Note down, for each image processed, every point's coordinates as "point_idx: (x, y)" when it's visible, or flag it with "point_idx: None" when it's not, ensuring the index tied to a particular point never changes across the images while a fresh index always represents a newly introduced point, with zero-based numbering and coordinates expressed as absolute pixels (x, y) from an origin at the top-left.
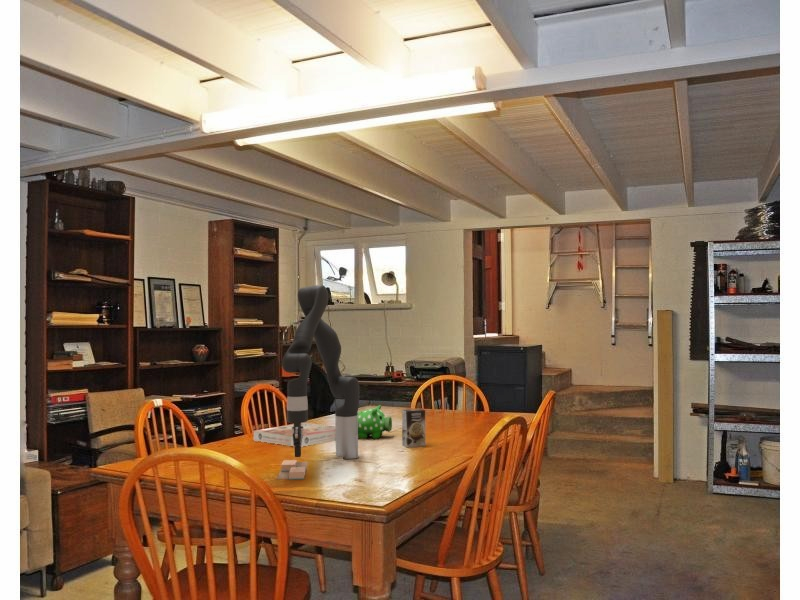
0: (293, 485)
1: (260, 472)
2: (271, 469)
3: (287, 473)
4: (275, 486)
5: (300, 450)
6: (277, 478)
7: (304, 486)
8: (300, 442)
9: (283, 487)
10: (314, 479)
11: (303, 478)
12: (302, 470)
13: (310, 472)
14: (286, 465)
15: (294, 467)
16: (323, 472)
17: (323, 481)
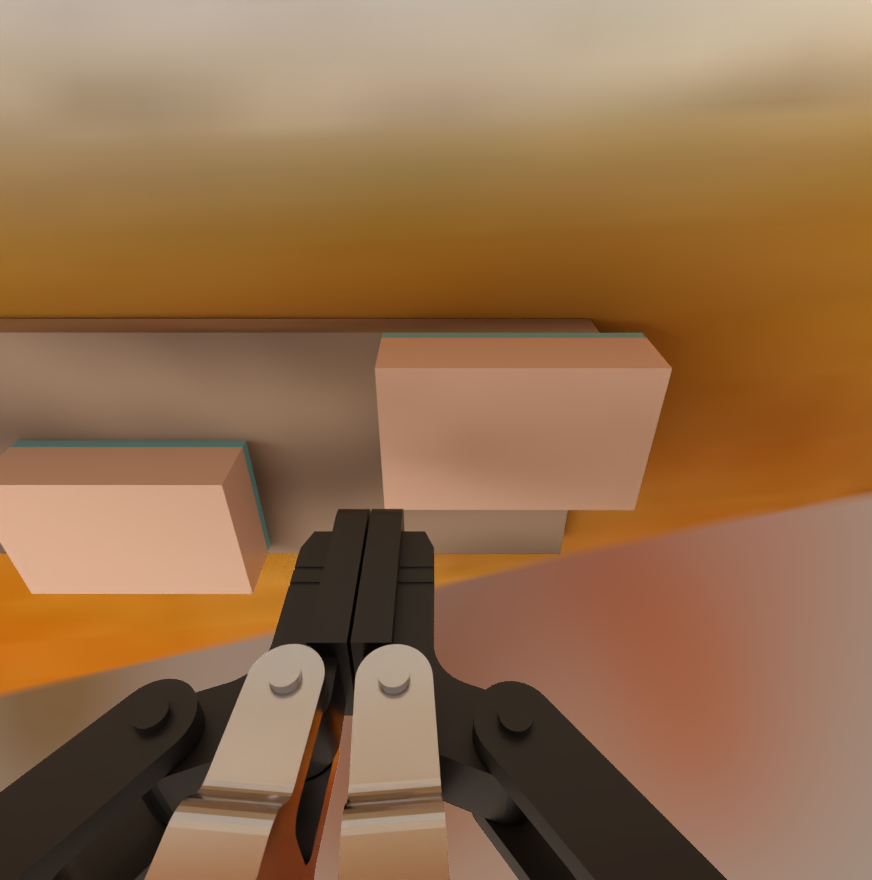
0: (714, 404)
1: (192, 646)
2: (73, 599)
3: (344, 495)
4: (686, 529)
5: (395, 584)
6: (539, 550)
7: (810, 299)
8: (551, 762)
9: (752, 474)
10: (506, 201)
11: (645, 337)
12: (582, 386)
13: (129, 273)
14: (245, 551)
15: (389, 479)
16: (97, 87)
17: (653, 61)
